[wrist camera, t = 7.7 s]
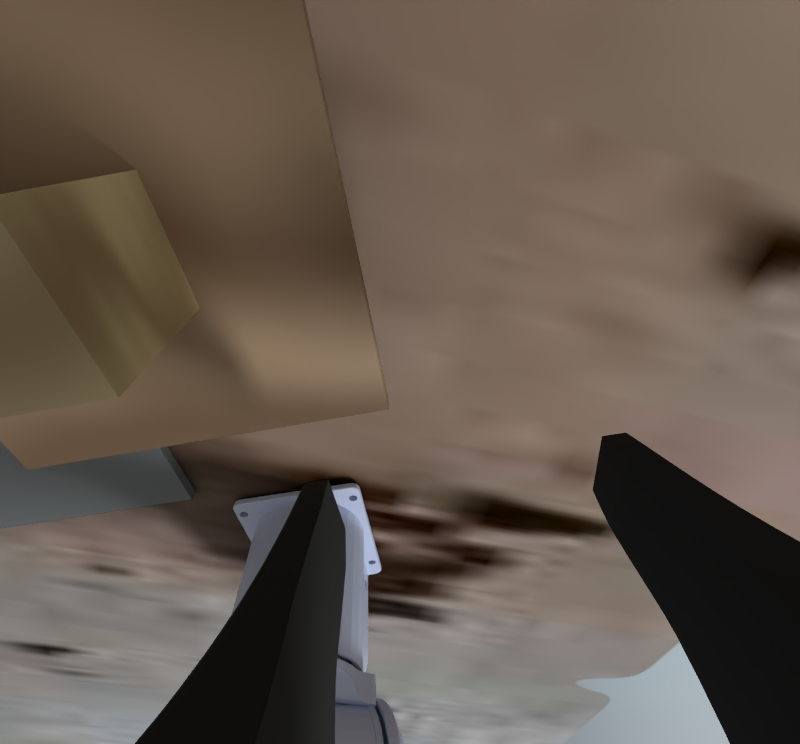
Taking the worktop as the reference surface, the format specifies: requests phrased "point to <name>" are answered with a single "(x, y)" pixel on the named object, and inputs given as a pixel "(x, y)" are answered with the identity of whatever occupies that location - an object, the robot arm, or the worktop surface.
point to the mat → (88, 486)
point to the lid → (171, 230)
